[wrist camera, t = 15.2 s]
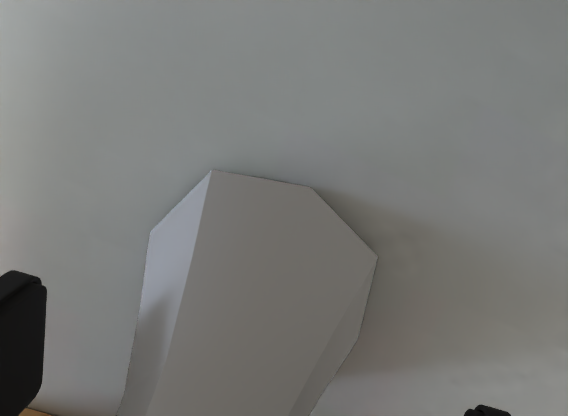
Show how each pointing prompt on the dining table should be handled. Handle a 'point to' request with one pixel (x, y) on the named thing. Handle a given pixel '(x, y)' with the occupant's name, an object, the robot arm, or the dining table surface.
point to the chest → (32, 413)
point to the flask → (246, 302)
